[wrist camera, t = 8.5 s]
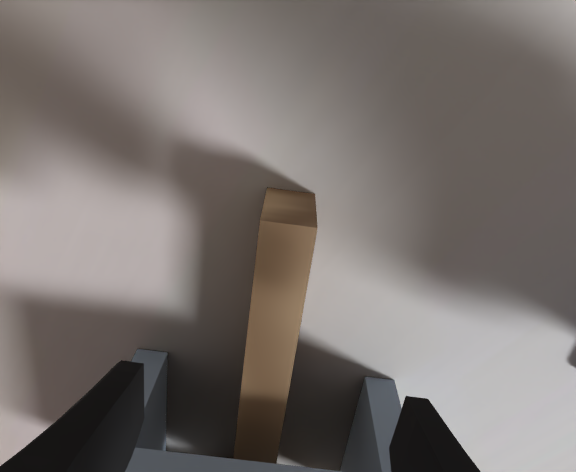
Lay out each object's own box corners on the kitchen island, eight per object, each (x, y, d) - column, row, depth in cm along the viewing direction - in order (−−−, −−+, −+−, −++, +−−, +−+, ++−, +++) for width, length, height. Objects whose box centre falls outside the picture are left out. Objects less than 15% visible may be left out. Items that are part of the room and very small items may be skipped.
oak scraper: (357, 199, 19) (368, 234, 15) (297, 482, 26) (297, 545, 23) (223, 181, 18) (207, 213, 15) (203, 471, 26) (189, 533, 23)
